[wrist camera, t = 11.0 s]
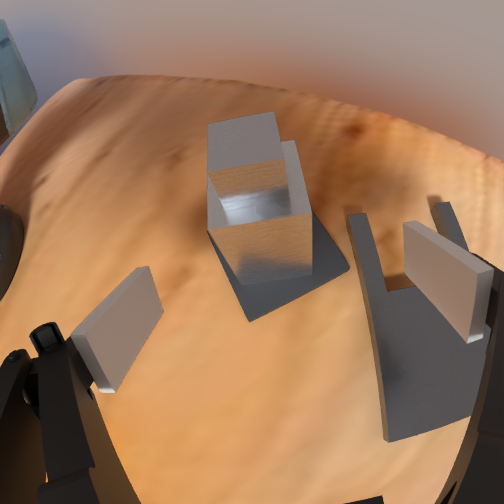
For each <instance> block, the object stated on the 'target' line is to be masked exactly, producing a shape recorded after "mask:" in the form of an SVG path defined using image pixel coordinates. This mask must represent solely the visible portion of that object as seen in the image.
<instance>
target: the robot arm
mask: <svg viewBox="0 0 504 504" xmlns="http://www.w3.org/2000/svg"><path fill="white" fill-rule="evenodd" d="M37 100H38V97H37V92H36V89H35V86H34V84H33V82H32V80H31V77H30V75H29V73H28V71H27V68H26V66H25V64H24V62H23V60H22V58H21V55H20V53H19V51H18V48H17V46H16V44H15V42H14V39H13V37H12V35H11V33H10V31H9V29H8V27H7V24H6V22H5V21H4V20H3V19H0V146H1V145H2V144H3V143H4V142H5V141H6V140H7V139H8V138H9V137H12V136H13V135H14V132H15V130H16V129H17V128H18V127H19V126H20V125H21V124H22V123H23V122H24V121H25V120H26V119H27V118H28V117H29V116H30V115H31V114H32V113H33V111H34V110H35V108H36V105H37ZM403 235H404V273H405V274H406V275H407V277H408V278H409V279H410V280H411V281H412V282H413V283H414V284H415V285H416V286H417V287H418V288H419V289H420V290H421V291H422V293H423V294H424V295H425V296H426V297H427V298H428V299H429V300H430V301H431V302H432V304H433V305H434V306H435V307H436V308H437V309H438V310H439V311H440V312H441V314H442V315H443V316H444V317H445V318H446V319H447V320H448V322H449V323H450V324H451V325H452V326H453V327H454V329H455V330H456V331H457V332H458V333H459V335H460V336H461V337H462V338H463V339H464V341H465V342H466V343H470V342H473V341H476V340H479V339H481V338H483V334H484V329H485V325H486V324H487V325H488V326H489V327H490V328H491V332H490V337H489V341H488V345H487V349H486V353H485V354H486V359H485V364H484V369H483V373H482V378H481V382H480V386H479V390H478V394H477V398H476V401H475V405H474V408H473V412H472V415H471V418H470V422H469V425H468V428H467V431H466V434H465V437H464V439H463V442H462V445H461V448H460V450H459V453H458V455H457V458H456V460H455V463H454V465H453V468H452V470H451V472H450V474H449V477H448V479H447V481H446V483H445V485H444V488H443V490H442V492H441V493H440V495H439V497H438V499H437V500H436V502H435V504H504V272H503V271H501V270H500V269H498V268H497V267H495V266H494V265H492V264H491V263H489V262H488V261H486V260H483V258H481V257H480V256H478V255H477V254H474V253H471V252H468V251H466V250H464V249H463V248H461V247H460V246H458V245H456V244H455V243H453V242H452V241H450V240H448V239H447V238H445V237H443V236H442V235H440V234H438V233H437V232H435V231H433V230H431V229H430V228H428V227H426V226H425V225H423V224H421V223H419V222H417V221H410V222H404V223H403ZM22 243H23V224H22V220H21V218H20V216H19V215H18V214H17V213H15V212H14V211H13V210H12V209H11V208H9V207H8V206H6V205H2V204H0V300H1V298H2V297H3V295H4V293H5V292H6V290H7V288H8V286H9V284H10V282H11V280H12V277H13V275H14V272H15V270H16V267H17V264H18V260H19V257H20V253H21V248H22ZM163 313H164V310H163V307H162V304H161V302H160V299H159V296H158V293H157V290H156V287H155V284H154V281H153V277H152V274H151V271H150V268H149V266H145V267H139V268H136V269H135V270H134V271H133V272H132V273H131V274H130V275H129V276H128V277H127V278H126V279H124V280H123V281H122V282H121V283H120V284H119V285H118V286H117V287H116V288H115V289H114V290H113V291H112V292H111V293H110V294H109V295H108V296H107V297H106V298H105V299H104V300H103V301H102V302H101V303H100V304H99V305H98V306H97V307H96V308H95V309H94V310H93V311H92V312H91V313H90V314H89V315H88V316H87V317H86V318H85V320H84V321H83V322H82V323H81V324H80V325H79V326H78V327H77V328H76V329H75V330H74V331H73V332H72V333H71V334H70V337H69V338H68V339H67V340H66V341H65V340H64V338H63V336H62V334H61V332H60V330H59V328H58V326H57V324H56V323H55V322H49V323H46V324H43V325H41V326H39V327H37V328H36V329H34V330H33V331H32V332H31V333H30V336H29V337H30V339H31V341H32V343H33V345H34V347H35V349H36V351H37V352H38V354H39V356H38V357H37V358H33V359H31V358H30V356H29V354H28V353H27V351H26V350H25V349H19V350H17V351H16V350H15V351H13V352H11V353H10V354H9V355H8V356H7V357H6V358H5V360H4V361H3V363H2V365H1V367H0V504H141V502H140V501H139V499H138V497H137V495H136V493H135V491H134V489H133V487H132V485H131V483H130V481H129V479H128V477H127V475H126V473H125V471H124V469H123V467H122V464H121V462H120V460H119V458H118V455H117V453H116V451H115V449H114V446H113V444H112V441H111V439H110V436H109V434H108V431H107V429H106V426H105V424H104V421H103V418H102V415H101V413H100V410H99V407H98V404H97V401H96V398H95V395H94V393H93V391H92V390H91V388H90V386H91V384H92V383H93V381H94V382H95V384H96V385H97V387H98V389H99V390H100V392H106V393H116V391H117V390H118V388H119V386H120V384H121V383H122V381H123V379H124V378H125V376H126V374H127V372H128V371H129V369H130V367H131V366H132V364H133V362H134V360H135V359H136V357H137V355H138V354H139V352H140V350H141V349H142V347H143V345H144V344H145V342H146V340H147V339H148V337H149V336H150V334H151V332H152V331H153V329H154V327H155V326H156V324H157V322H158V321H159V319H160V318H161V316H162V314H163ZM24 398H25V399H24ZM25 400H26V401H27V402H26V401H25ZM46 472H47V477H48V482H47V483H46ZM345 504H384V502H383V497H382V495H381V496H377V497H373V498H369V499H365V500H360V501H355V502H350V503H345Z"/></svg>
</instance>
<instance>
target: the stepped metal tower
mask: <svg viewBox="0 0 504 504" xmlns="http://www.w3.org/2000/svg"><path fill="white" fill-rule="evenodd" d="M207 210H208V231H209V233H210V235H211V236H212V238H213V240H214V241H215V243H216V244H217V246H218V248H219V249H220V251H221V253H222V254H223V256H224V257H225V259H226V261H227V262H228V264H229V266H230V267H231V269H232V270H233V272H234V274H235V275H236V277H237V279H238V280H239V282H240V283H241V285H248V284H255V283H262V282H269V281H276V280H283V279H289V278H296V277H303V276H309V275H312V211H311V206H310V202H309V198H308V193H307V189H306V185H305V180H304V176H303V172H302V168H301V164H300V160H299V156H298V152H297V148H296V144H295V140H289V141H283V142H281V140H280V136H279V131H278V127H277V122H276V118H275V113H274V111H272V112H266V113H260V114H255V115H249V116H244V117H239V118H234V119H229V120H224V121H220V122H215V123H211V124H208V155H207Z"/></svg>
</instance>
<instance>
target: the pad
mask: <svg viewBox="0 0 504 504" xmlns="http://www.w3.org/2000/svg"><path fill="white" fill-rule="evenodd" d="M311 211H312V210H311ZM207 233H208V235H209V237H210V239H211V242H212V244H213V246H214V248H215V251H216V253H217V255H218V257H219V259H220V262H221V264H222V266H223V268H224V270H225V272H226V275H227V277H228V279H229V281H230V283H231V285H232V288H233V290H234V292H235V294H236V296H237V298H238V300H239V302H240V305H241V307H242V309H243V311H244V313H245V315H246V317H247V319H248V321H249V322H251V321H253V320H255V319H257V318H259V317H261V316H263V315H265V314H267V313H269V312H271V311H273V310H275V309H277V308H279V307H281V306H283V305H285V304H287V303H289V302H291V301H293V300H295V299H297V298H299V297H301V296H302V295H304V294H306V293H308V292H310V291H312V290H314V289H316V288H318V287H319V286H321V285H323V284H325V283H327V282H329V281H330V280H332V279H334V278H336V277H338V276H340V275H341V274H343V273H345V272H347V271H349V269H350V266H349V265H348V263H347V262H346V260H345V259H344V257H343V255H342V254H341V252H340V251H339V249H338V248H337V246H336V245H335V243H334V242H333V240H332V239H331V237H330V236H329V234H328V233H327V231H326V230H325V228H324V227H323V225H322V224H321V223H320V221H319V220H318V218H317V217H316V215H315V214H314V212H313V211H312V275H309V276H303V277H296V278H289V279H283V280H276V281H269V282H262V283H255V284H248V285H241V283H240V282H239V280H238V279H237V277H236V275H235V274H234V272H233V270H232V269H231V267H230V266H229V264H228V262H227V261H226V259H225V257H224V256H223V254H222V253H221V251H220V249H219V248H218V246H217V244H216V243H215V241H214V240H213V238H212V236H211V235H210V233H209V231H207Z"/></svg>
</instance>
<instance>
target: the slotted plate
mask: <svg viewBox="0 0 504 504" xmlns="http://www.w3.org/2000/svg"><path fill="white" fill-rule="evenodd" d="M431 214H432V217H433V220H434V222H435V225H436V227H437V230H438V233H439V234H440V235H442V236H443V237H445V238H447V239H448V240H450V241H452V242H453V243H455V244H456V245H458V246H460V247H461V248H463V249H464V250H466V251H468V252H469V250H468V247H467V244H466V241H465V239H464V236H463V233H462V231H461V228H460V226H459V223H458V221H457V218H456V216H455V213H454V211H453V209H452V206H451V204H450V202H443V203H436V204H435V206H434V208H433V210H432V211H431ZM347 229H348V233H349V237H350V241H351V245H352V249H353V253H354V257H355V261H356V266H357V270H358V274H359V279H360V284H361V288H362V293H363V298H364V303H365V308H366V313H367V318H368V324H369V329H370V335H371V341H372V347H373V353H374V359H375V366H376V373H377V380H378V388H379V396H380V405H381V414H382V424H383V435H384V440H385V441H387V442H389V443H390V442H394V441H397V440H401V439H405V438H408V437H412V436H415V435H418V434H422V433H425V432H428V431H431V430H434V429H437V428H440V427H443V426H445V425H448V424H451V423H453V422H456V421H459V420H461V419H464V418H466V417H469V416H471V415H472V412H473V408H474V405H475V401H476V398H477V394H478V390H479V386H480V382H481V378H482V373H483V369H484V364H485V359H486V354H485V353H486V349H487V345H488V341H489V337H490V332H491V328H490V327H489V326H488V325H487V324H486V325H485V329H484V334H483V338H481V339H479V340H476V341H473V342H470V343H466V342H465V341H464V339H463V338H462V337H461V336H460V335H459V333H458V332H457V331H456V330H455V329H454V327H453V326H452V325H451V324H450V323H449V322H448V320H447V319H446V318H445V317H444V316H443V315H442V314H441V312H440V311H439V310H438V309H437V308H436V307H435V306H434V305H433V304H432V302H431V301H430V300H429V299H428V298H427V297H426V296H425V295H424V294H423V293H422V291H421V290H420V289H419V288H418V287H417V286H414V287H409V288H404V289H399V290H394V291H389V292H387V289H386V285H385V280H384V276H383V272H382V268H381V264H380V261H379V257H378V253H377V249H376V246H375V242H374V239H373V235H372V232H371V228H370V225H369V222H368V218H367V215H366V213H361V214H354V215H348V219H347Z"/></svg>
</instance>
